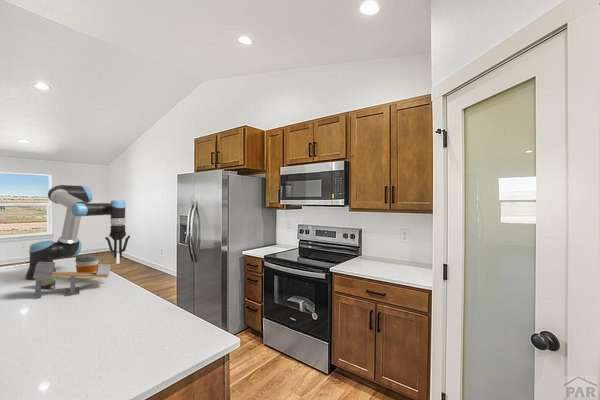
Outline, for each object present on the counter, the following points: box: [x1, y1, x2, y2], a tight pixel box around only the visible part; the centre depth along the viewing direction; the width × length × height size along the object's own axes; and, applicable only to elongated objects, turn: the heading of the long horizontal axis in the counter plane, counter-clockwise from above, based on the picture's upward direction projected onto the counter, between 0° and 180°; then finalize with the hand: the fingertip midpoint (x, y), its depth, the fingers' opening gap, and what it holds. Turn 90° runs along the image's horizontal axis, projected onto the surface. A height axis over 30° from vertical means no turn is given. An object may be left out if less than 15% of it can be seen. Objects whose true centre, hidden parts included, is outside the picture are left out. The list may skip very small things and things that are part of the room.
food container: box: [35, 269, 58, 291], centre depth 159 cm, size 12×6×10 cm, turn 84°
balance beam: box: [33, 261, 109, 279], centre depth 152 cm, size 9×32×8 cm, turn 129°
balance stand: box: [34, 276, 81, 300], centre depth 148 cm, size 12×18×10 cm, turn 129°
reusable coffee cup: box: [75, 253, 100, 281], centre depth 178 cm, size 12×13×15 cm
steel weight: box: [96, 263, 112, 277], centre depth 161 cm, size 5×6×6 cm
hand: (117, 263), depth 165 cm, fingers closed
